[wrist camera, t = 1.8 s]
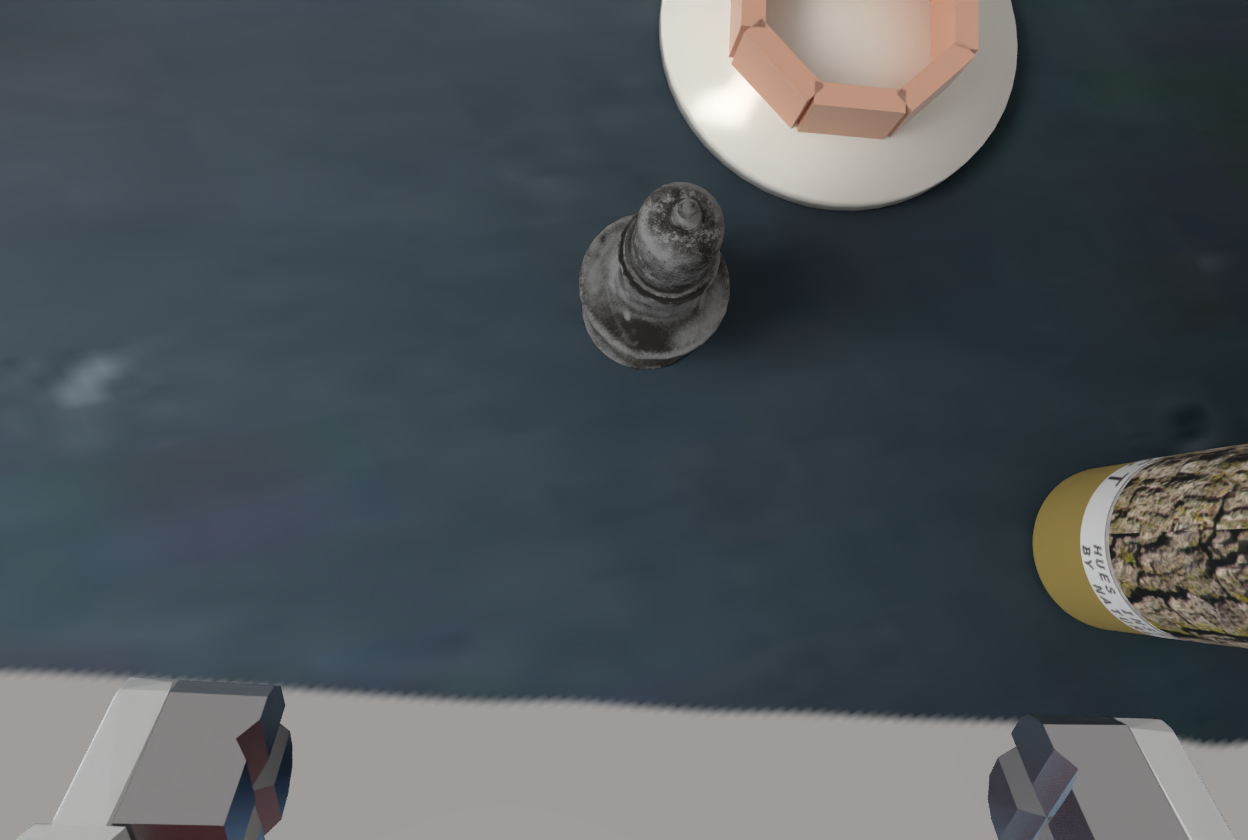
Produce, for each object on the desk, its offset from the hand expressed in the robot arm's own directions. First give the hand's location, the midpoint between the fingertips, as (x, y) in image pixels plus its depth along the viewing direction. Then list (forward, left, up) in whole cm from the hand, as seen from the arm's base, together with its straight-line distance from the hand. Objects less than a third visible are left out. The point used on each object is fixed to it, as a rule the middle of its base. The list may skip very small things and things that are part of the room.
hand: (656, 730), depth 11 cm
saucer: (+10, +25, -28) cm, 39 cm away
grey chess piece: (+2, +12, -28) cm, 31 cm away
